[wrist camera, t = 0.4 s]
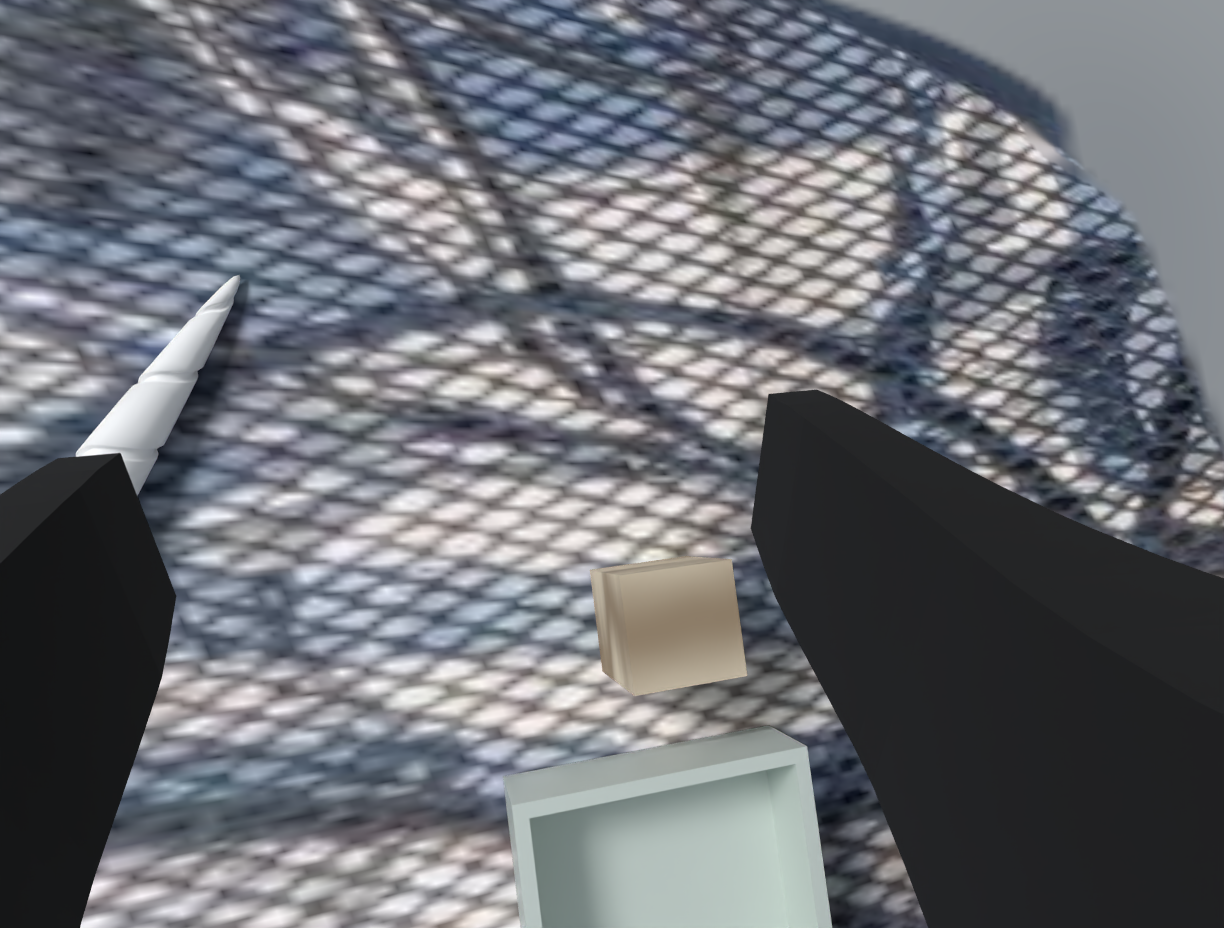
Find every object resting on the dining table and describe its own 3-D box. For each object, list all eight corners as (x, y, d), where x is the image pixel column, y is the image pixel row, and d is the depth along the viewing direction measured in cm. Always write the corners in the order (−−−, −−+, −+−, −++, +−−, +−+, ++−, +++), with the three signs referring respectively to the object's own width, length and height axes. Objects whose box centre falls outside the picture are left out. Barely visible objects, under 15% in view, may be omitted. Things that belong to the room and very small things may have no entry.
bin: (806, 999, 38) (849, 1052, 34) (537, 1072, 35) (550, 1139, 31) (768, 725, 38) (806, 746, 34) (502, 776, 36) (511, 805, 32)
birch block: (698, 655, 38) (747, 676, 32) (602, 671, 37) (634, 695, 31) (685, 556, 38) (731, 559, 32) (589, 569, 37) (619, 575, 31)
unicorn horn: (321, 327, 36) (304, 295, 31) (-35, 840, 32) (-117, 893, 27) (222, 265, 35) (189, 223, 31) (-156, 780, 31) (-261, 824, 26)
